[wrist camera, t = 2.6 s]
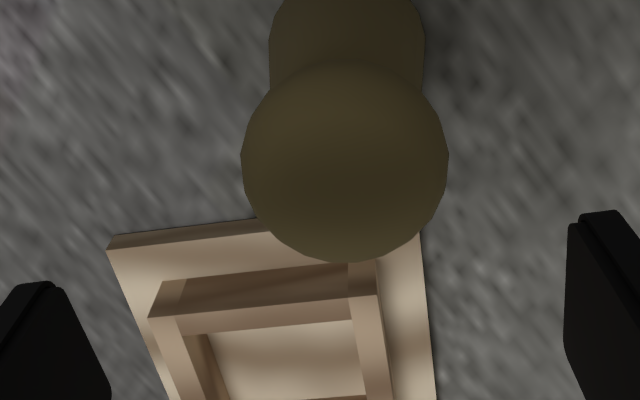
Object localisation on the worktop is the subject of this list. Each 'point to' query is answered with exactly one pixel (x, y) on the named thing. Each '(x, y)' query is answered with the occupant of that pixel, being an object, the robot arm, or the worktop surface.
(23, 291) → the robot arm
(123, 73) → the worktop surface
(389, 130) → the olive tall rounded piece
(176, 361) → the holder
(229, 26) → the worktop surface
